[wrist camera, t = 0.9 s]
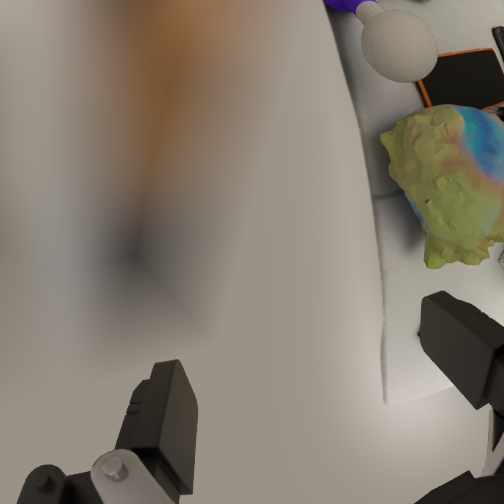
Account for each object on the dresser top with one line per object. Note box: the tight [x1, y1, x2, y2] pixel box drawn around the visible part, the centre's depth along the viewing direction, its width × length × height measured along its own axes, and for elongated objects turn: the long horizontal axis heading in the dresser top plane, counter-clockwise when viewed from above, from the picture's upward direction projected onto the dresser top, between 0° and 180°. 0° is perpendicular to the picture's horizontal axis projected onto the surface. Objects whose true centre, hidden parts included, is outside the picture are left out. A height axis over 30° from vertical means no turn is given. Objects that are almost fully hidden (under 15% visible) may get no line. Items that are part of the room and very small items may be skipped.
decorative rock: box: [380, 104, 504, 269], centre depth 23 cm, size 14×16×15 cm
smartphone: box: [418, 48, 504, 111], centre depth 26 cm, size 8×17×1 cm, turn 114°
